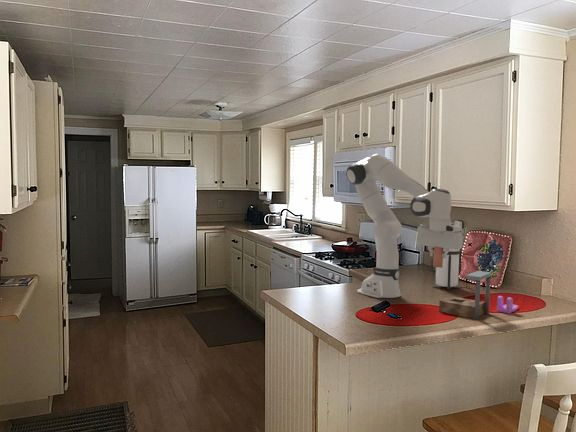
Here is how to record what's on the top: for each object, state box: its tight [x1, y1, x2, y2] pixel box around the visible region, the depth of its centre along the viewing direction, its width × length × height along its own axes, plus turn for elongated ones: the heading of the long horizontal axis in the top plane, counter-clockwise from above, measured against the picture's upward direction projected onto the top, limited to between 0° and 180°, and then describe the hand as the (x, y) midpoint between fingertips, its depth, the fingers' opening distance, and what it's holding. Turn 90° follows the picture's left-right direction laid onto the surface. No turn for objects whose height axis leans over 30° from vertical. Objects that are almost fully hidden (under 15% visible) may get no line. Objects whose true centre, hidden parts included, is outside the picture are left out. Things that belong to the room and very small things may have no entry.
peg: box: [432, 247, 443, 268], centre depth 221 cm, size 4×4×9 cm
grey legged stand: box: [465, 270, 492, 320], centre depth 222 cm, size 6×14×18 cm, turn 139°
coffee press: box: [432, 248, 462, 291], centre depth 278 cm, size 17×16×30 cm
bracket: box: [496, 295, 519, 314], centre depth 233 cm, size 13×6×7 cm, turn 136°
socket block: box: [438, 295, 485, 319], centre depth 227 cm, size 16×12×5 cm
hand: (438, 257), depth 221 cm, fingers closed on peg, 4 cm apart
